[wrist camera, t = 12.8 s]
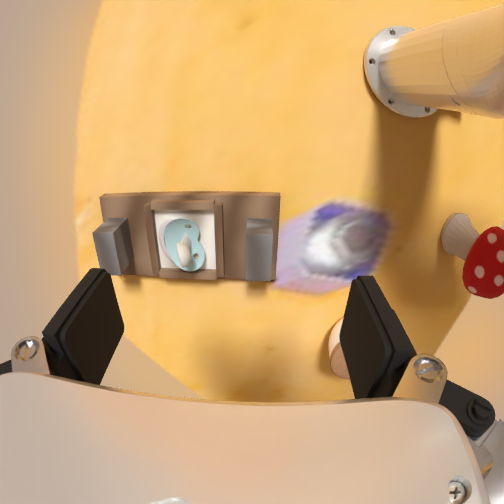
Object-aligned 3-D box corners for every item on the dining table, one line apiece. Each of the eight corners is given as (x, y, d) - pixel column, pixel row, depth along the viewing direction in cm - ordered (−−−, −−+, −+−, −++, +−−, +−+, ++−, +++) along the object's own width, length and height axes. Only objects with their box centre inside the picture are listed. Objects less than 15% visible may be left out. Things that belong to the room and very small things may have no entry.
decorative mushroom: (440, 196, 37) (503, 242, 24) (479, 205, 38) (539, 248, 24) (423, 257, 42) (471, 316, 29) (461, 260, 42) (510, 313, 29)
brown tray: (279, 192, 38) (283, 210, 32) (274, 273, 44) (277, 301, 38) (104, 194, 38) (81, 210, 32) (117, 268, 44) (100, 292, 38)
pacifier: (168, 265, 42) (209, 260, 41) (155, 290, 36) (200, 286, 35) (154, 217, 38) (197, 209, 38) (136, 237, 33) (185, 230, 32)
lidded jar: (332, 297, 46) (345, 339, 37) (391, 301, 46) (412, 339, 38) (316, 346, 51) (324, 388, 42) (370, 347, 51) (384, 386, 43)
